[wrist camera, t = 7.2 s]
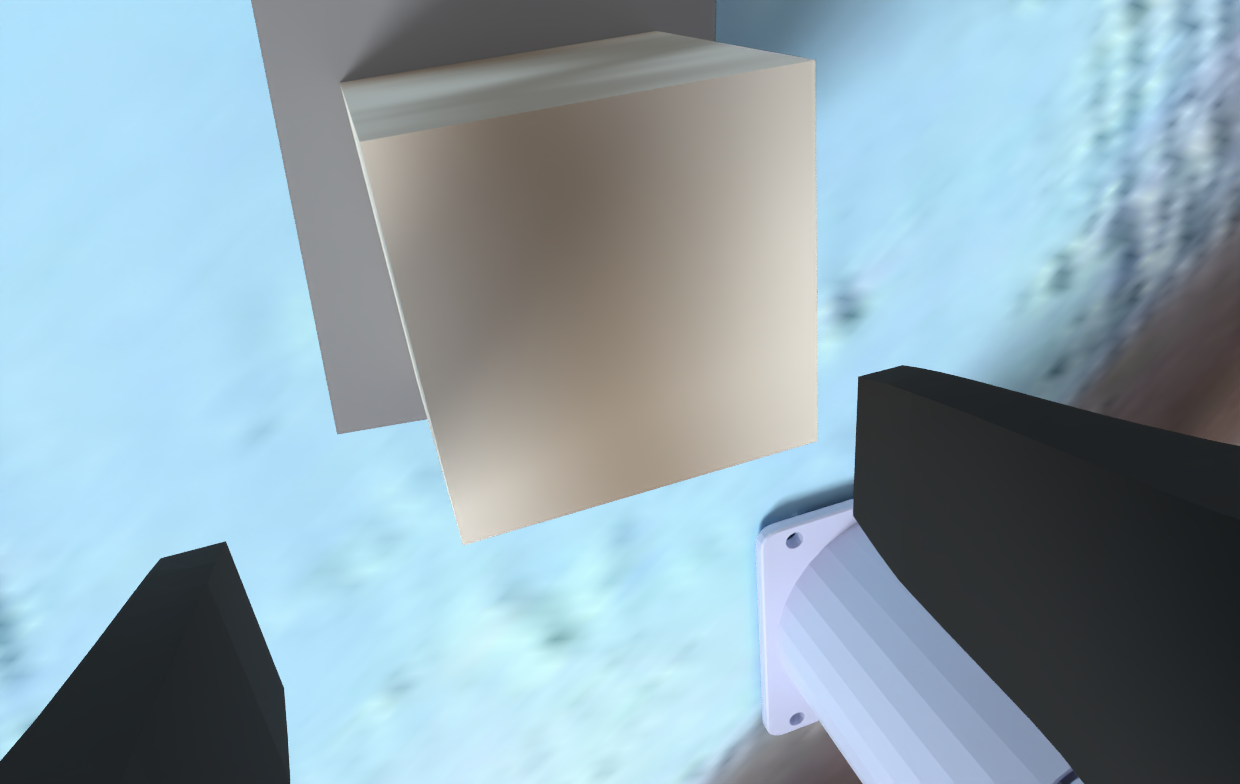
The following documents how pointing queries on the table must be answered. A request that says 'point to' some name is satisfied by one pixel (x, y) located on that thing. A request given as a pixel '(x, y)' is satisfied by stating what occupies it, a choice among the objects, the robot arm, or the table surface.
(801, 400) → the cream cube
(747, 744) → the table surface
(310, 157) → the gray base block
